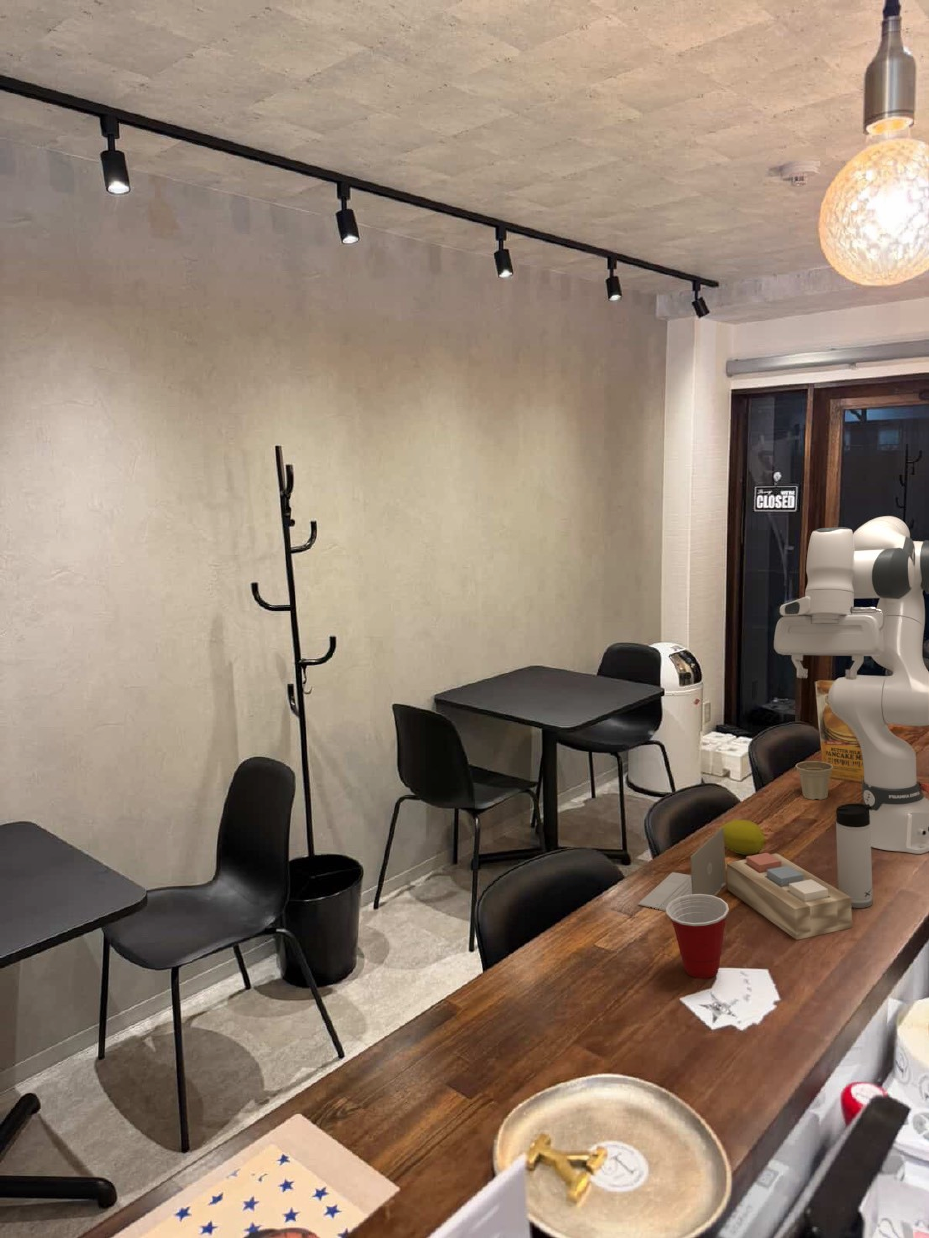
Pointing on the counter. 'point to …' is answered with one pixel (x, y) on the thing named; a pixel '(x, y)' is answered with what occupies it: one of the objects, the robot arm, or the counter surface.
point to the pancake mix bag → (837, 739)
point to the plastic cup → (699, 931)
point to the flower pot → (814, 779)
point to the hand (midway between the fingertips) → (825, 678)
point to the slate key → (784, 875)
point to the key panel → (790, 901)
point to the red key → (762, 862)
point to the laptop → (693, 876)
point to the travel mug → (854, 853)
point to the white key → (808, 890)
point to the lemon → (743, 837)
